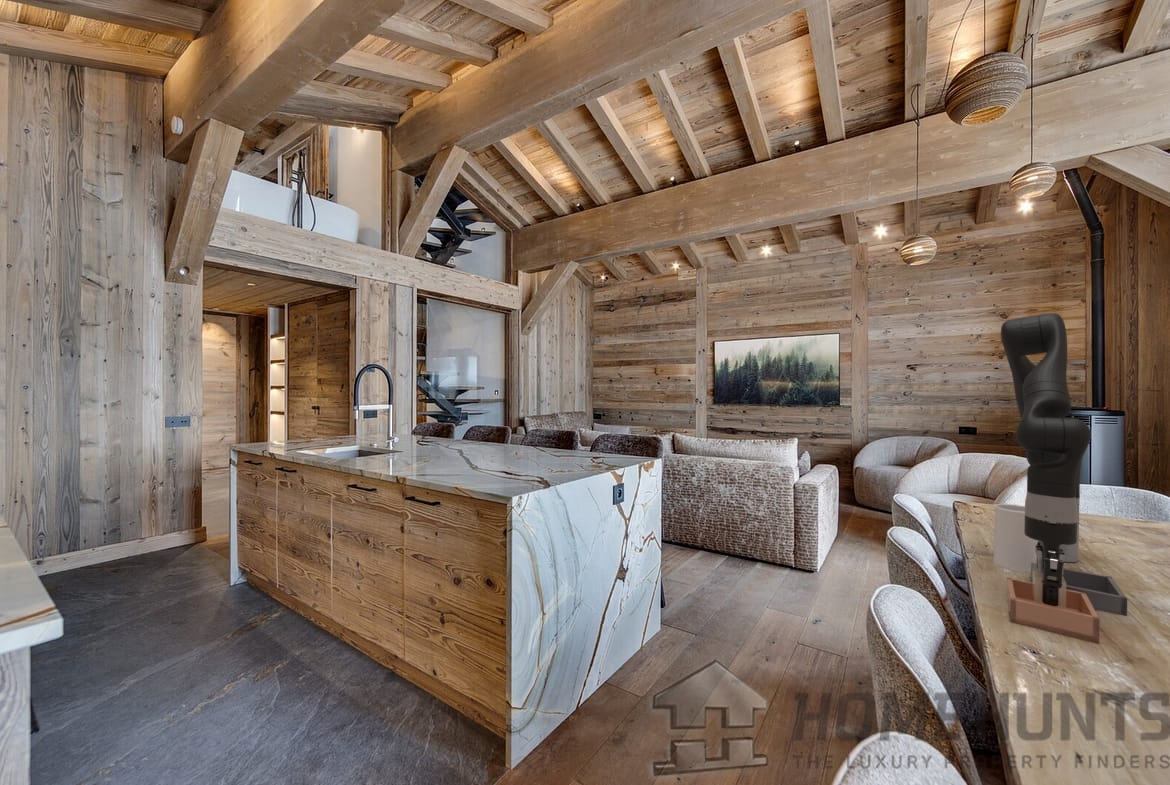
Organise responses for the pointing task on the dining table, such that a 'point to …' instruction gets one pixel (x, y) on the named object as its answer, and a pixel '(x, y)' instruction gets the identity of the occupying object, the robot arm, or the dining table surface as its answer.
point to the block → (1038, 588)
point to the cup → (1012, 539)
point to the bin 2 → (1095, 589)
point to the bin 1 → (1053, 612)
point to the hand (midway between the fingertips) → (1048, 599)
